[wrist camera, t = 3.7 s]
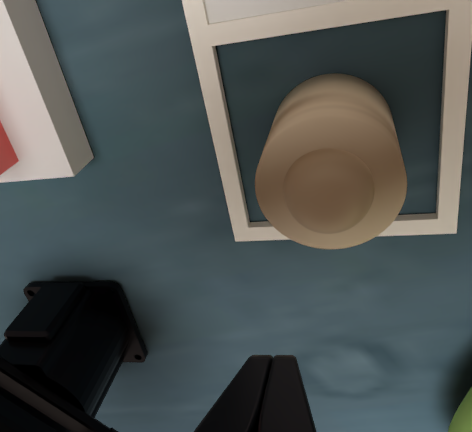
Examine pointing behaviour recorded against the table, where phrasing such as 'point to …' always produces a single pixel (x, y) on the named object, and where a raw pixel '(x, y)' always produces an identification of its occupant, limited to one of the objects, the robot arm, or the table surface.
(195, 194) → the table surface
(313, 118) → the tan lidded jar
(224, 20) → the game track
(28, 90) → the dome base
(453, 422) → the teapot
